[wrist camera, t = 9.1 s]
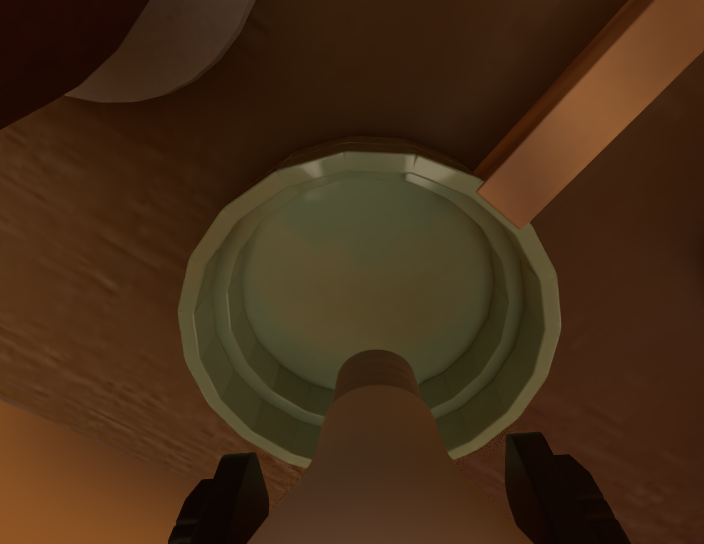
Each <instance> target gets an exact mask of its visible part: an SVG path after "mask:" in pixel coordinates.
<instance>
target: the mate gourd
mask: <svg viewBox="0 0 704 544" xmlns="http://www.w3.org/2000/svg"><path fill="white" fill-rule="evenodd" d="M255 1H256V0H0V130H1V129H2V128H4V127H6V126H8V125H10V124H12V123H14V122H15V121H17V120H19V119H21V118H23V117H25V116H27V115H28V114H30V113H32V112H34V111H36V110H38V109H40V108H41V107H43V106H45V105H47V104H49V103H50V102H52V101H54V100H56V99H57V98H59V97H61V96H63V95H65V96H69V97H74V98H79V99H84V100H90V101H95V102H100V103H102V102H138V101H144V100H148V99H152V98H156V97H160V96H164V95H169V94H171V93H173V92H175V91H177V90H179V89H181V88H183V87H185V86H187V85H189V84H191V83H193V82H195V81H197V80H198V79H199V78H200V77H201V76H202V75H204V74H205V73H206V72H207V71H208V70H209V69H211V68H212V67H213V66H214V65H215V64H216V63H218V62H219V61H220V60H221V59H222V57H223V56H224V55H225V53H226V52H227V51H228V49H229V48H230V47H231V45H232V44H233V43H234V41H235V40H236V39H237V37H238V36H239V35H240V33H241V31H242V29H243V27H244V25H245V23H246V20H247V18H248V16H249V14H250V12H251V10H252V8H253V5H254V3H255Z"/></svg>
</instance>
